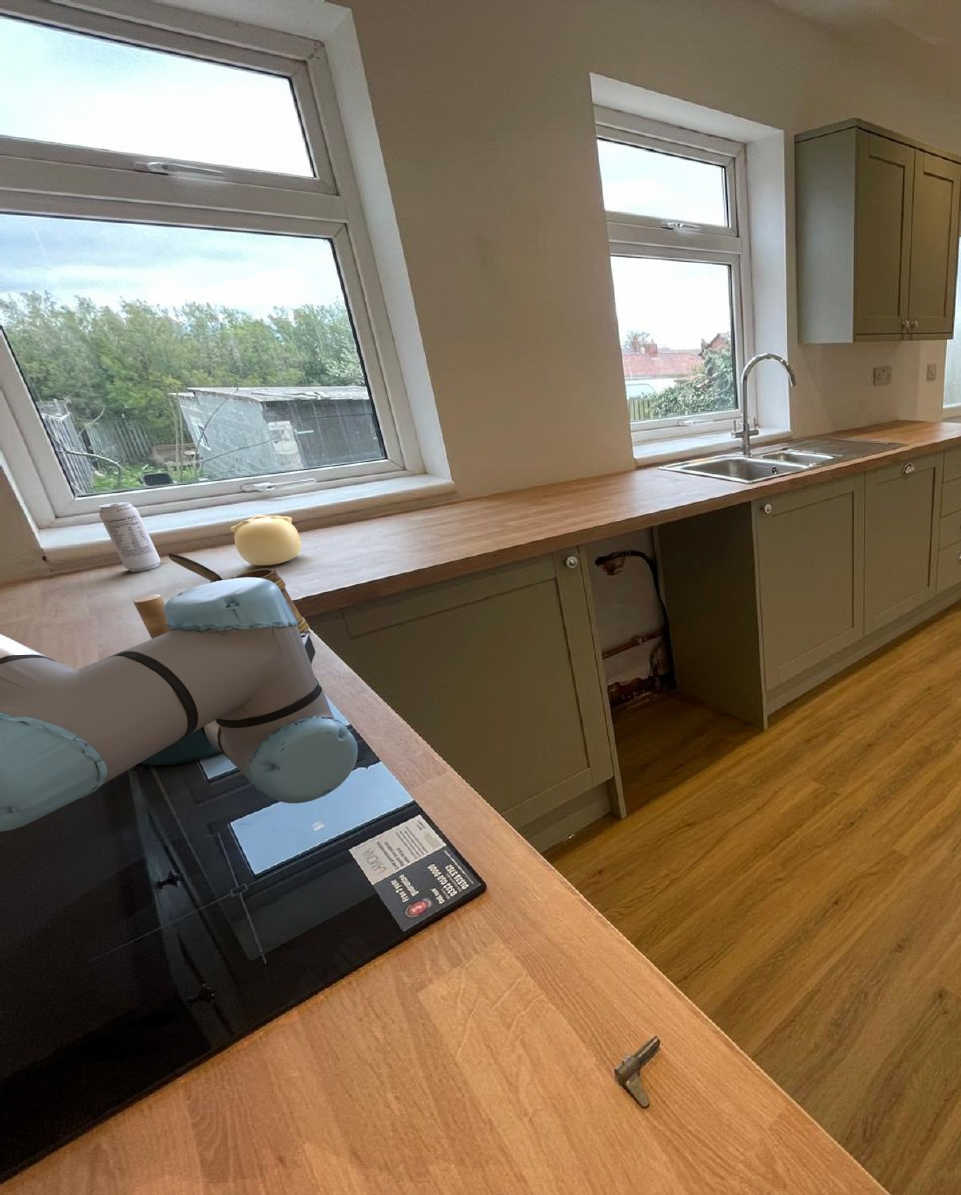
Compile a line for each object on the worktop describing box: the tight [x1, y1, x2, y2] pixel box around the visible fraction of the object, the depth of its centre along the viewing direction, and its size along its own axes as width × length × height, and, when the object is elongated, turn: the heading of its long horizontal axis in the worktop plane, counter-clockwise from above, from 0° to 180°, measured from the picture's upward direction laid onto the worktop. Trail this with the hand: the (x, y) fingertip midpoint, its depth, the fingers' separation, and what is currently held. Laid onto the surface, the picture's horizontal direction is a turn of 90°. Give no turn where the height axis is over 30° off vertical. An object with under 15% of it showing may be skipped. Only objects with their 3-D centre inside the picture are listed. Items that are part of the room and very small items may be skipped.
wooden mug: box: [168, 552, 310, 635], centre depth 104 cm, size 9×14×18 cm, turn 155°
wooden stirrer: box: [132, 593, 170, 639], centre depth 80 cm, size 5×5×18 cm
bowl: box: [139, 730, 221, 766], centre depth 82 cm, size 16×16×6 cm
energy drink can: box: [98, 500, 161, 573], centre depth 144 cm, size 6×6×15 cm
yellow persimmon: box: [230, 514, 302, 566], centre depth 145 cm, size 11×12×11 cm
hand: (186, 661), depth 75 cm, fingers open, 13 cm apart
